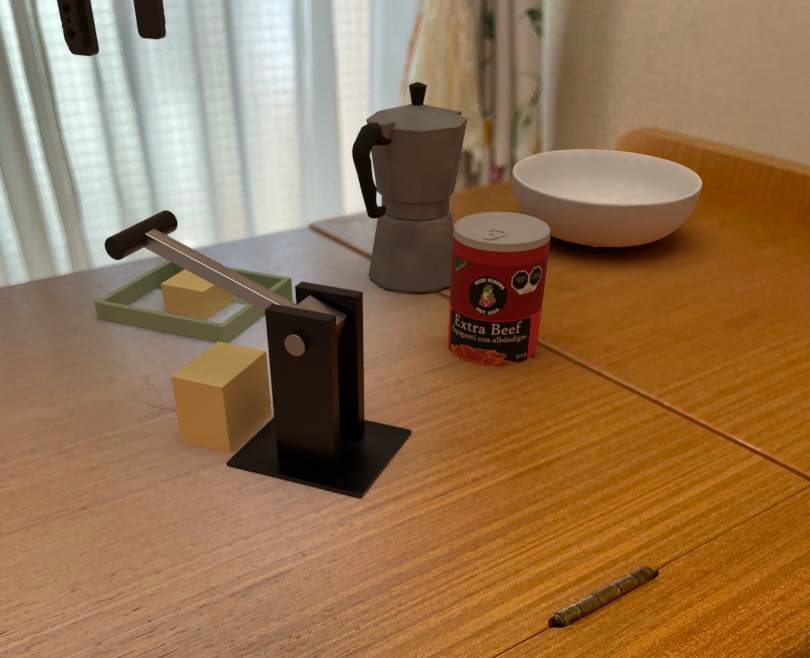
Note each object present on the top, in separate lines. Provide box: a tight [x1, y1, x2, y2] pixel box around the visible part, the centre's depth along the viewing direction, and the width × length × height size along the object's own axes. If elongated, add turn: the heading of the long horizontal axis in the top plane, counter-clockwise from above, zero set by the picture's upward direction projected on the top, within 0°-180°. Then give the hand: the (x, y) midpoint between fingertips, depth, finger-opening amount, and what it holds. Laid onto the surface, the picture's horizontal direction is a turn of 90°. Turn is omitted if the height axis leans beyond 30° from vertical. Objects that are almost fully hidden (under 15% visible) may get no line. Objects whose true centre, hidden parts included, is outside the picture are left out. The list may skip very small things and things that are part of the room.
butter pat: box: [160, 270, 234, 320], centre depth 80 cm, size 4×4×3 cm
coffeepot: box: [351, 81, 468, 294], centre depth 83 cm, size 15×9×18 cm, turn 142°
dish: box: [93, 259, 294, 344], centre depth 80 cm, size 13×12×2 cm
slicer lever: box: [104, 209, 347, 345], centre depth 56 cm, size 15×6×2 cm, turn 68°
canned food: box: [447, 211, 551, 367], centre depth 72 cm, size 8×8×11 cm
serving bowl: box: [511, 148, 703, 248], centre depth 99 cm, size 21×21×7 cm
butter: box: [170, 342, 273, 454], centre depth 62 cm, size 4×6×6 cm, turn 158°
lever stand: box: [226, 280, 413, 500], centre depth 58 cm, size 10×9×12 cm
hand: (120, 46), depth 67 cm, fingers open, 8 cm apart
